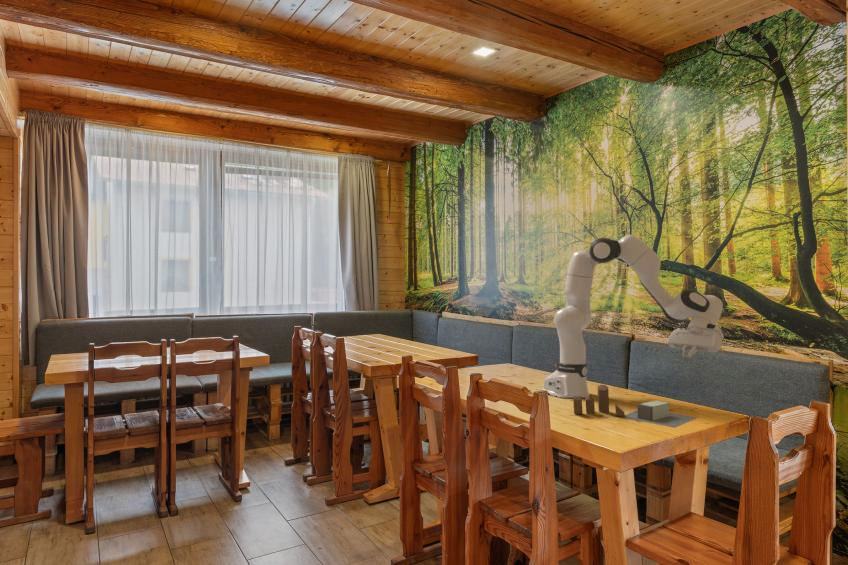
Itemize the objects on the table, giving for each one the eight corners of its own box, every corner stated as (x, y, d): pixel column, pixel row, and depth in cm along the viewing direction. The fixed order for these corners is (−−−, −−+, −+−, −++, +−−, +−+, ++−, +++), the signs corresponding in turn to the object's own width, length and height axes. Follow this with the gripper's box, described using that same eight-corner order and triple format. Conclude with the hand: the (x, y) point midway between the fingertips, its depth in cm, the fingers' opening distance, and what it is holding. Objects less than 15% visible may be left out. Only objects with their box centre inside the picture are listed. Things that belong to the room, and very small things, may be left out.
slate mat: (619, 418, 204) (619, 416, 204) (644, 409, 217) (644, 408, 217) (674, 429, 189) (674, 427, 189) (697, 419, 203) (697, 417, 203)
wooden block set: (574, 420, 208) (573, 397, 205) (573, 408, 216) (572, 385, 213) (625, 420, 204) (624, 396, 200) (622, 407, 212) (621, 384, 208)
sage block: (656, 413, 209) (637, 418, 202) (656, 400, 209) (637, 404, 202) (669, 416, 204) (650, 421, 198) (669, 402, 204) (650, 407, 198)
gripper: (672, 322, 228) (658, 348, 222) (722, 326, 211) (708, 353, 206) (678, 333, 231) (664, 358, 225) (728, 337, 214) (715, 364, 208)
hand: (686, 356), depth 215 cm, fingers closed
